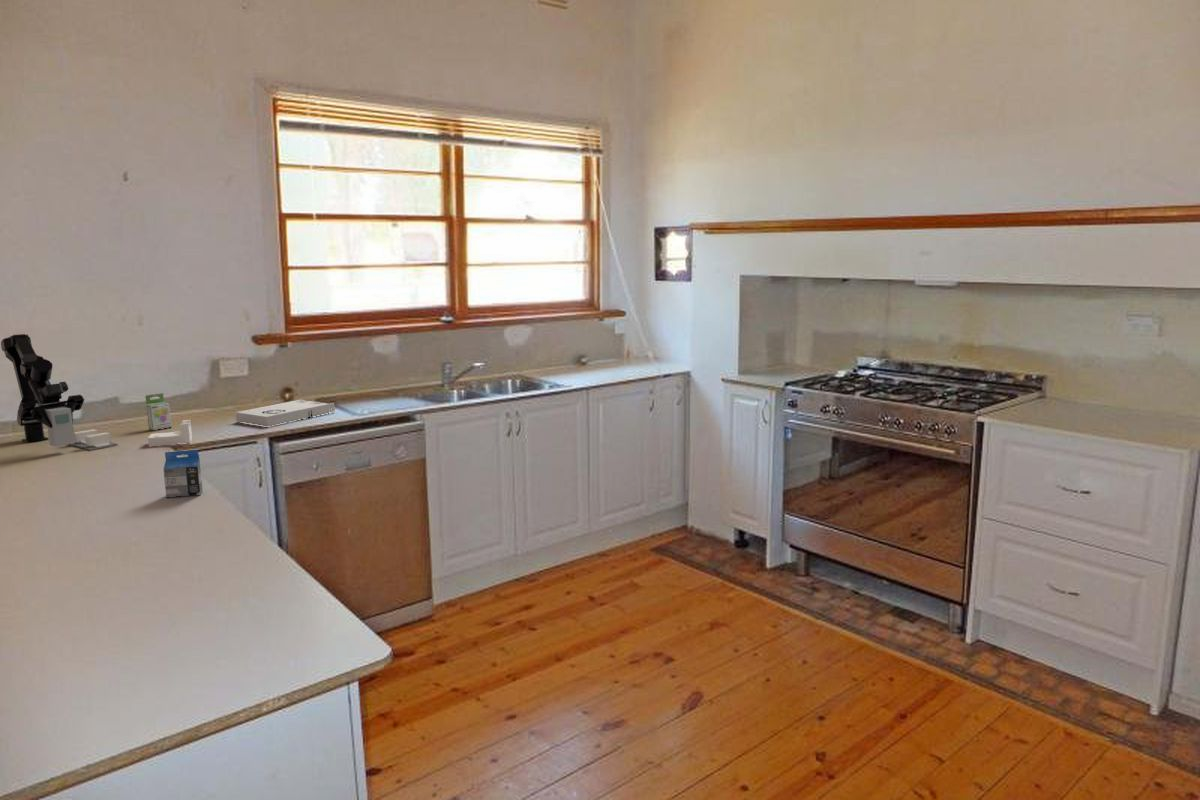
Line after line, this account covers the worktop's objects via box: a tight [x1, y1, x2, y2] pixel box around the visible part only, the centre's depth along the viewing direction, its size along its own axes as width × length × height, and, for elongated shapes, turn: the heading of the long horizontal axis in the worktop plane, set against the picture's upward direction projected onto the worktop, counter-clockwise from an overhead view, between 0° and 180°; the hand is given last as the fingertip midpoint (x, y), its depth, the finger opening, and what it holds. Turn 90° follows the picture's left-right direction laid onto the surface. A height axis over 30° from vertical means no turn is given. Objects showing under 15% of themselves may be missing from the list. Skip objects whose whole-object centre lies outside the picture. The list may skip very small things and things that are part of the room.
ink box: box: [145, 392, 173, 431], centre depth 318 cm, size 7×4×13 cm, turn 143°
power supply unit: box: [235, 398, 336, 426], centre depth 338 cm, size 19×33×5 cm, turn 149°
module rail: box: [69, 428, 119, 452], centre depth 294 cm, size 17×9×4 cm, turn 55°
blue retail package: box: [163, 449, 203, 498], centre depth 232 cm, size 9×4×12 cm, turn 105°
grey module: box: [45, 407, 75, 448], centre depth 281 cm, size 5×6×12 cm
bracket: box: [147, 419, 193, 448], centre depth 295 cm, size 13×7×8 cm, turn 110°
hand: (61, 425), depth 280 cm, fingers closed on grey module, 6 cm apart
